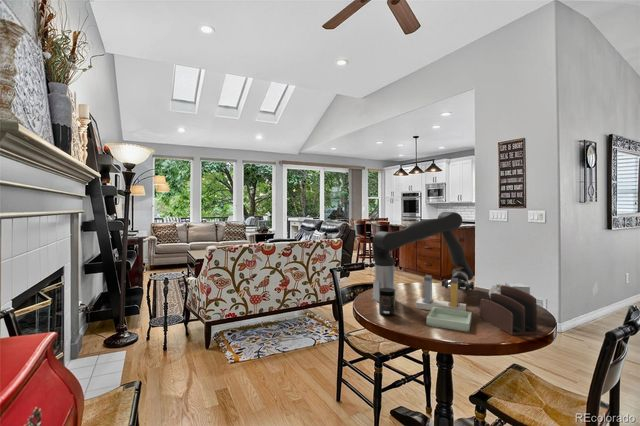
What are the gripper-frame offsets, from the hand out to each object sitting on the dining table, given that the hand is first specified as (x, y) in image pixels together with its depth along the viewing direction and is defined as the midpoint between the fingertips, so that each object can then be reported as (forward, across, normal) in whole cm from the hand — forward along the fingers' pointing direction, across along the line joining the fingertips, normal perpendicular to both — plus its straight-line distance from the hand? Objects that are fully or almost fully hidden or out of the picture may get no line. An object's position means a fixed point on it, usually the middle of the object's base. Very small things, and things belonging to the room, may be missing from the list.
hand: (456, 287), depth 155 cm
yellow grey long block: (+10, 0, +8) cm, 13 cm away
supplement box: (+3, +24, +8) cm, 26 cm away
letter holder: (+19, +20, +8) cm, 29 cm away
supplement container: (+27, -25, +8) cm, 38 cm away
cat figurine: (-11, +18, +8) cm, 22 cm away
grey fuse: (+10, -11, +8) cm, 17 cm away
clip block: (+10, -6, +8) cm, 14 cm away
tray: (+26, 0, +8) cm, 27 cm away
